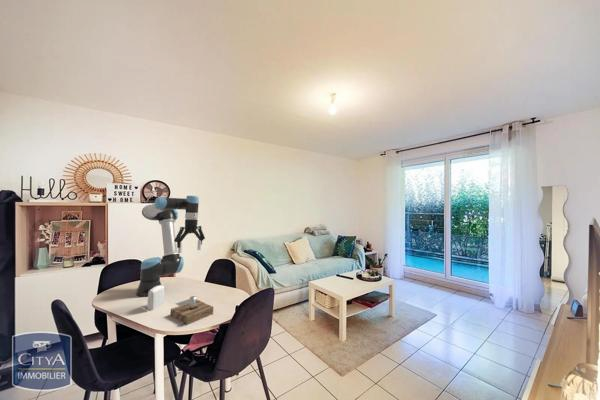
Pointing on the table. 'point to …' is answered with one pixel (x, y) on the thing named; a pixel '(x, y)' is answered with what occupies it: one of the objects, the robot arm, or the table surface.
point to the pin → (192, 302)
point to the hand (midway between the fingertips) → (189, 251)
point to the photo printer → (155, 297)
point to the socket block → (191, 312)
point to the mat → (185, 302)
